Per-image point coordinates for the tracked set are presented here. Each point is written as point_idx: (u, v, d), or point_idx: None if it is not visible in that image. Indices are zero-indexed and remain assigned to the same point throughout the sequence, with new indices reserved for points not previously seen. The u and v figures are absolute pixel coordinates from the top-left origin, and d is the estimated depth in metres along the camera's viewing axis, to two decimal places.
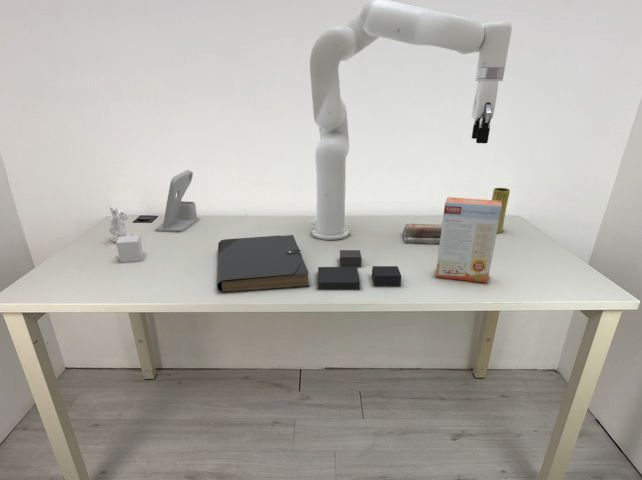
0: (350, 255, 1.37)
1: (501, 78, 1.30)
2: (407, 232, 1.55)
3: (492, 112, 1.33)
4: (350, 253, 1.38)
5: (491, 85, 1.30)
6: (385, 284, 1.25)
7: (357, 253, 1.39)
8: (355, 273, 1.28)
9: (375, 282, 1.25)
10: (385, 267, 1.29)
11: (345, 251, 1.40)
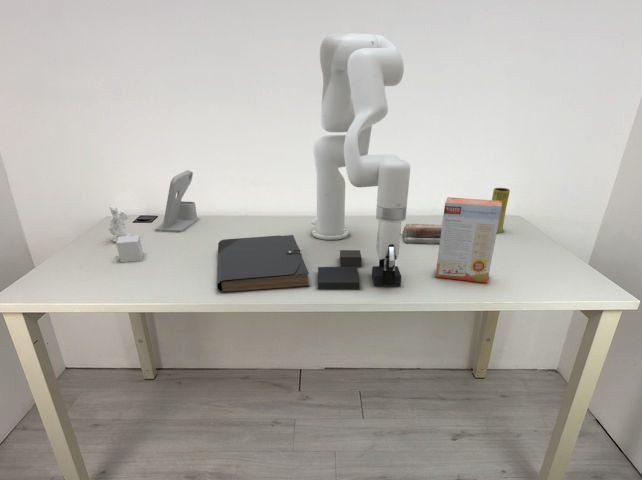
0: (350, 255, 1.37)
1: (403, 218, 1.17)
2: (407, 232, 1.55)
3: (397, 253, 1.19)
4: (350, 253, 1.38)
5: (393, 227, 1.16)
6: (385, 284, 1.25)
7: (357, 253, 1.39)
8: (355, 273, 1.28)
9: (375, 282, 1.25)
10: None
11: (345, 251, 1.40)
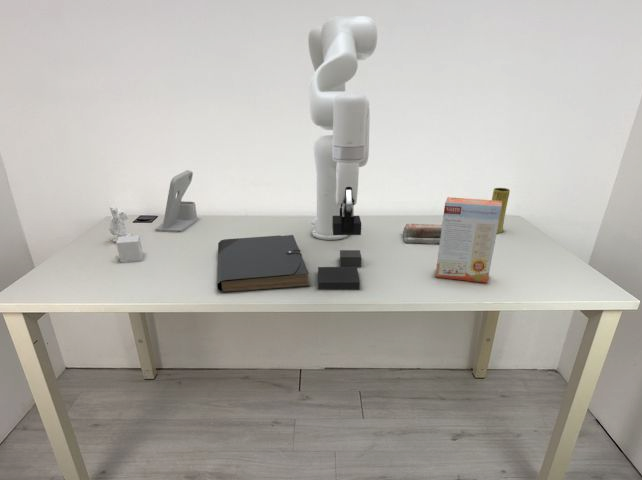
0: (350, 255, 1.37)
1: (361, 158, 1.10)
2: (407, 232, 1.55)
3: (355, 197, 1.12)
4: (350, 253, 1.38)
5: (349, 167, 1.09)
6: (344, 233, 1.18)
7: (357, 253, 1.39)
8: (355, 273, 1.28)
9: (334, 230, 1.17)
10: None
11: (345, 251, 1.40)
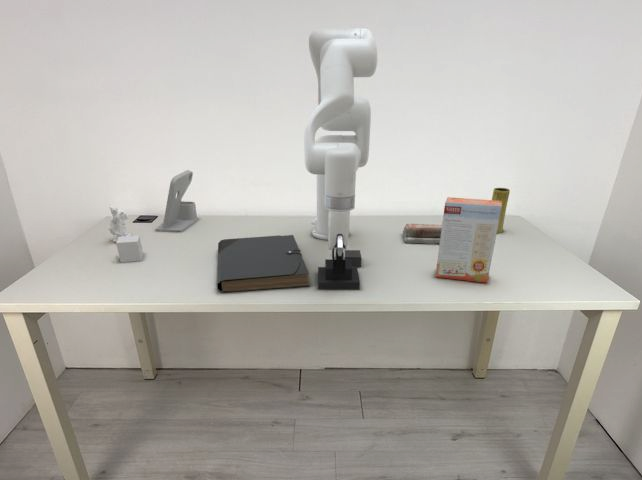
0: (350, 255, 1.37)
1: (351, 207, 1.16)
2: (407, 232, 1.55)
3: (346, 243, 1.18)
4: (350, 253, 1.38)
5: (340, 216, 1.15)
6: (336, 277, 1.24)
7: (357, 253, 1.39)
8: (355, 273, 1.28)
9: (326, 275, 1.24)
10: None
11: (345, 251, 1.40)
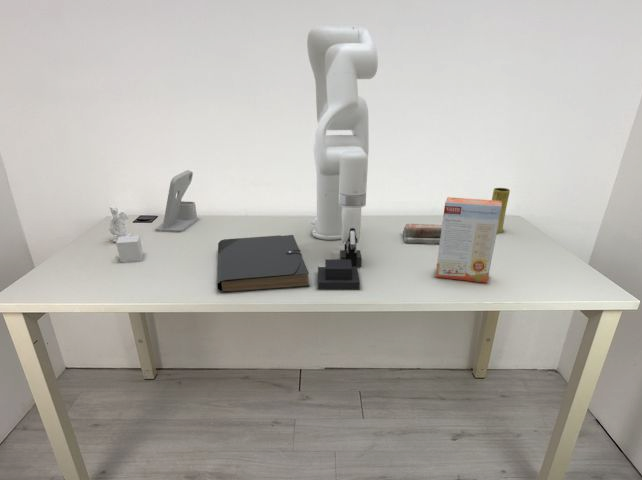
0: None
1: (363, 204, 1.29)
2: (407, 232, 1.55)
3: (358, 237, 1.31)
4: None
5: (353, 212, 1.27)
6: (336, 277, 1.24)
7: (357, 253, 1.39)
8: (355, 273, 1.28)
9: (326, 275, 1.24)
10: (338, 260, 1.28)
11: (345, 251, 1.40)
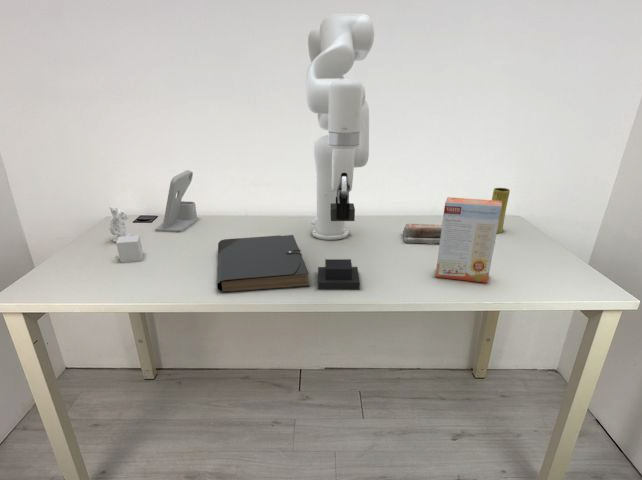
0: None
1: (356, 144, 1.11)
2: (407, 232, 1.55)
3: (350, 183, 1.13)
4: None
5: (345, 153, 1.09)
6: (336, 277, 1.24)
7: (350, 205, 1.20)
8: (355, 273, 1.28)
9: (326, 275, 1.24)
10: (338, 260, 1.28)
11: (336, 204, 1.22)
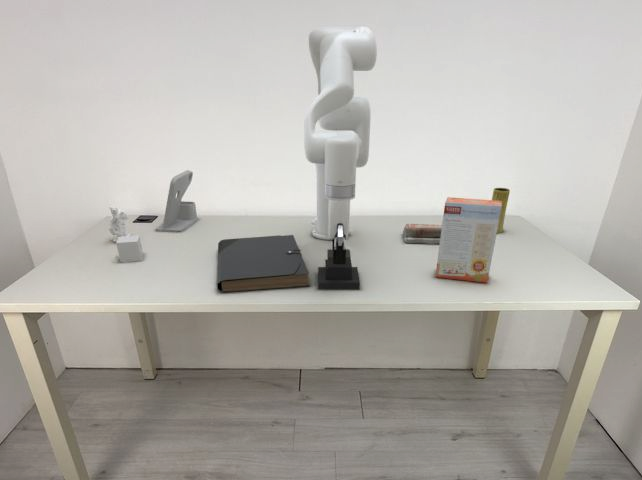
0: None
1: (352, 196, 1.14)
2: (407, 232, 1.55)
3: (346, 233, 1.16)
4: None
5: (341, 205, 1.13)
6: (336, 277, 1.24)
7: (346, 252, 1.24)
8: (355, 273, 1.28)
9: (326, 275, 1.24)
10: None
11: None
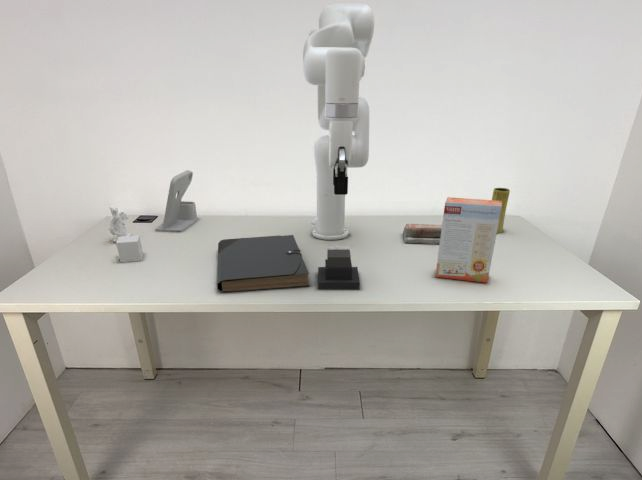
0: (338, 255, 1.23)
1: (355, 116, 1.05)
2: (407, 232, 1.55)
3: (348, 158, 1.07)
4: (338, 253, 1.24)
5: (342, 125, 1.04)
6: (336, 277, 1.24)
7: (346, 252, 1.24)
8: (355, 273, 1.28)
9: (326, 275, 1.24)
10: None
11: (333, 250, 1.26)
